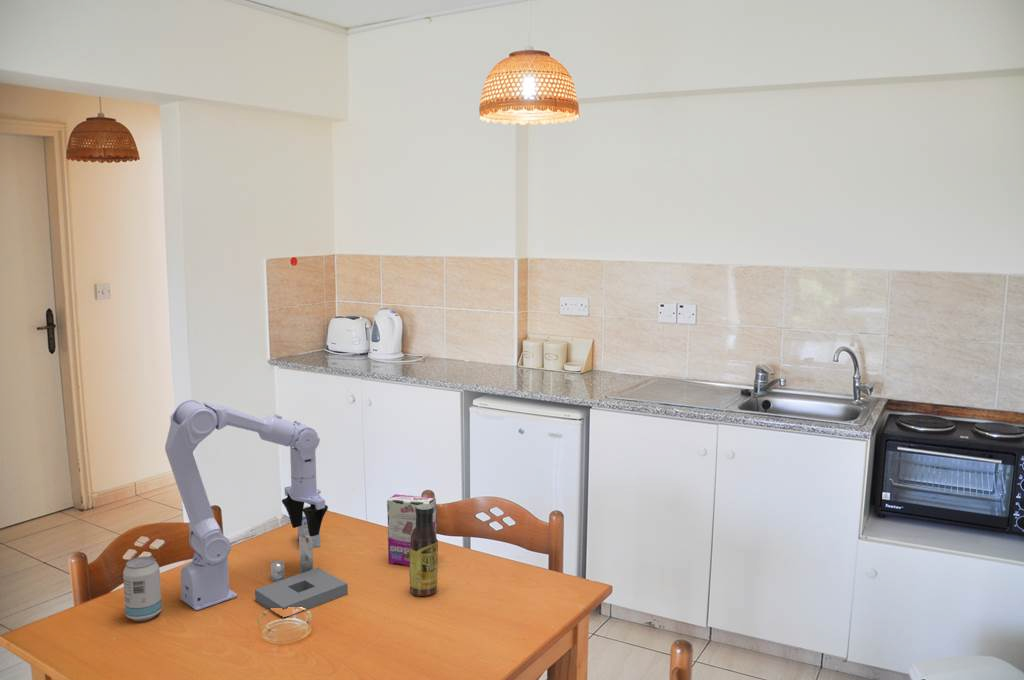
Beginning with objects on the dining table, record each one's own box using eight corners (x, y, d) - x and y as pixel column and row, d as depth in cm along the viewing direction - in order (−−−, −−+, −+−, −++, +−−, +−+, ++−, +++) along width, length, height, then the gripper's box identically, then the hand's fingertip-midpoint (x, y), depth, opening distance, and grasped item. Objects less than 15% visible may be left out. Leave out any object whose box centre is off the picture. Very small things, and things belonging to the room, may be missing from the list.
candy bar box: (437, 561, 197) (437, 497, 195) (429, 569, 193) (429, 504, 190) (396, 555, 201) (395, 492, 198) (387, 563, 196) (386, 499, 194)
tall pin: (304, 575, 189) (303, 538, 188) (297, 571, 191) (296, 535, 190) (315, 571, 191) (314, 535, 190) (308, 567, 193) (307, 532, 192)
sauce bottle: (424, 600, 177) (423, 514, 174) (403, 592, 181) (402, 507, 178) (444, 589, 182) (443, 505, 179) (424, 582, 186) (423, 500, 183)
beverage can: (169, 610, 172) (166, 557, 170) (146, 625, 165) (143, 570, 163) (142, 606, 173) (138, 553, 172) (118, 621, 167) (114, 566, 165)
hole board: (283, 618, 168) (283, 607, 168) (255, 600, 176) (254, 589, 176) (347, 594, 180) (347, 583, 179) (318, 577, 188) (317, 567, 188)
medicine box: (297, 538, 211) (296, 507, 210) (314, 536, 213) (313, 504, 212) (303, 549, 204) (302, 517, 203) (321, 546, 206) (320, 514, 205)
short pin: (275, 583, 185) (274, 566, 184) (268, 579, 187) (268, 563, 186) (287, 579, 187) (286, 562, 187) (280, 575, 189) (279, 559, 189)
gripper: (335, 478, 186) (337, 534, 188) (302, 465, 196) (303, 518, 198) (309, 485, 181) (310, 542, 183) (275, 471, 191) (278, 526, 193)
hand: (305, 530), depth 190 cm, fingers open, 7 cm apart
